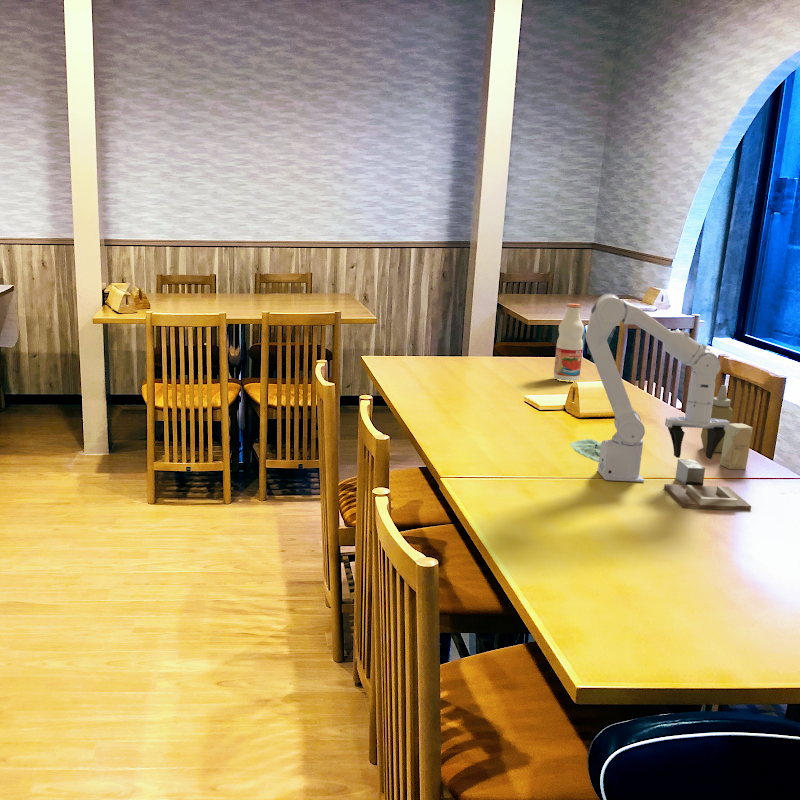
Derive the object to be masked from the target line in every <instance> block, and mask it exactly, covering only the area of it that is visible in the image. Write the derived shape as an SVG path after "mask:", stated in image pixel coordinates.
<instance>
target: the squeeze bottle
mask: <svg viewBox="0 0 800 800" xmlns="http://www.w3.org/2000/svg"><path fill="white" fill-rule="evenodd" d="M727 396H728V395H727V385H725V384H724V385H723V384H722V385H721V386H720V388H719V391H718V393H717V395H716V396H714V399H713V406H712V413H711V418H712V419H722V420H727V421H729V424H733V423H734V422H733V421H734V419H733V417H734V416H733V415H734V409H733V408H732V407H731V399H729V398H728V397H727ZM724 431H725V429H724ZM700 433H701V434H700V439H701V443H702V448H703V449H704V450H705V451H706V447H707V436H708V434H707V428H701V432H700ZM723 442H724V437H723V438H722V439H721V441H720V442H719V444H718V445H717V447H716V449H715V451H714V453H722V448H723Z"/></svg>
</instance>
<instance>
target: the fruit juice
mask: <svg viewBox="0 0 800 800" xmlns="http://www.w3.org/2000/svg"><path fill="white" fill-rule="evenodd" d="M581 306H582V305H581V304H580V303H570V302H569V303H567V304H566V312H565V314H564V317H563V319H562V320H561V322H560V323H559V325H558V334H559V335H558V338H557V340H556V346H555V357H554V368H553V379H554V378H556V379H561V380H569V381H571V380H573V381H575V380H577V379H579V380H580V377H581V370H582V369H581V367H582V358H583V349H584V340H583V336H584V332H585V326H584V325H585V324H584V323H583V321H582V318H581V314H580V310H581Z"/></svg>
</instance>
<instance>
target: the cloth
mask: <svg viewBox="0 0 800 800" xmlns="http://www.w3.org/2000/svg"><path fill="white" fill-rule="evenodd" d="M601 443H602V442H601V441H600V442H599V441H597V440H595V439H593V438H592V439H591V438H587V439H580V440H576V441H573V442H570V444H569V445H570V447H571V448H572V449H573V450H574V452H576V453H578V454H579V455H581V456H584V457H586V458H588V459H590V460H592V461H595V462H597V463H599V456H600V447H601Z"/></svg>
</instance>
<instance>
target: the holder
mask: <svg viewBox="0 0 800 800" xmlns="http://www.w3.org/2000/svg"><path fill="white" fill-rule="evenodd" d="M663 488H664V489H665V491H666V492H667V493H668V494H669V495H670V496H671V497H672V498H673V499H674V500H675V501H676V502H677V503H678V504H679V505H680V506H681V507H682V508H683V509H699V510H700V509H701V510H702V509H704V510H705V509H706V510H726V511H727V510H728V511H729V510H730V511H752V510H751V509H752V505H750V503H748V502H747V501H746V500H744V499H743V497H741V496H740V495H738V493H736V492H735V491H734V490H733V489H731V488H730V487H729V486H723V485H722V486H720V485H703V486H699V485H682V484H672V483H671V484H670V483H669V484H668V483H665V484H664V486H663Z"/></svg>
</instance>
